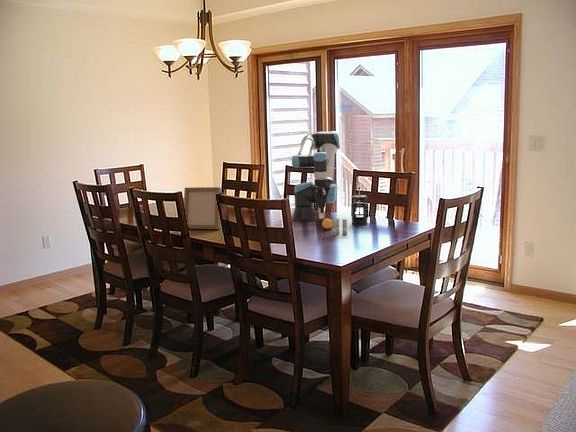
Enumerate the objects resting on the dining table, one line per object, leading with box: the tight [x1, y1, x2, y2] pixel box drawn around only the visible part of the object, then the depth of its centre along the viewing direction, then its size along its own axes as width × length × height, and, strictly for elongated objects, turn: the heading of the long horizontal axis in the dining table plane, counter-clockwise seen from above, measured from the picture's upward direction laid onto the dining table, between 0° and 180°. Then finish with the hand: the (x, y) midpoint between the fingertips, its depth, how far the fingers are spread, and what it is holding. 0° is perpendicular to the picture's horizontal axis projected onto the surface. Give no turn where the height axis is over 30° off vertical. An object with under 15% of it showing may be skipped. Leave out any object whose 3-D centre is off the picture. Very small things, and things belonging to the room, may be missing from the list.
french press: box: [351, 185, 369, 226], centre depth 331 cm, size 12×9×23 cm
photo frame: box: [183, 186, 222, 230], centre depth 335 cm, size 15×22×25 cm
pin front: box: [334, 217, 340, 235], centre depth 307 cm, size 2×2×8 cm
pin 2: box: [341, 218, 348, 236], centre depth 304 cm, size 2×2×8 cm
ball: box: [321, 218, 332, 230], centre depth 322 cm, size 6×6×6 cm
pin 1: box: [331, 219, 338, 237], centre depth 303 cm, size 2×2×8 cm
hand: (321, 218), depth 330 cm, fingers closed
